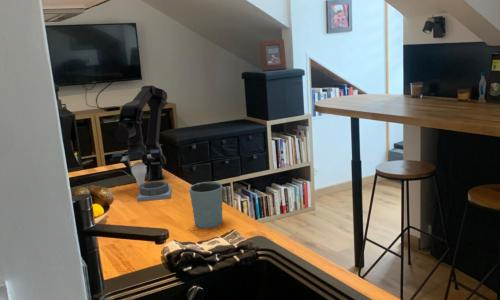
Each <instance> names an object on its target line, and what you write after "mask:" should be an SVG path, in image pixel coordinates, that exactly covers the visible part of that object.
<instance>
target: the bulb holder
mask: <svg viewBox="0 0 500 300" xmlns="http://www.w3.org/2000/svg"><path fill="white" fill-rule="evenodd" d="M138 189H139V191H138V194H137V195H136V196H137V198H136V201H137V203H141V202H147V201H148V202H150V201H157V200H169V199H171V196H172V190H173V189H172V185H171V184H170V185H169V182H168V181H165V180H153V181H148V182H144V184H142V185H140V187H139V188H138Z"/></svg>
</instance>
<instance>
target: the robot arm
mask: <svg viewBox="0 0 500 300" xmlns="http://www.w3.org/2000/svg"><path fill="white" fill-rule="evenodd" d="M167 100H168V93H167V92H166V91H165V90H164V89H163V88H159V87H156V86H155V85H143V86H141V88H140V91H139V92H138V93H137V95H136V96H135V97H134V98H133V100H132V101H129V102H127V103H125V104H123V105H122V106H121V109H120V112H119V117H118V122H117V124H118V128H116V129H115V131H114V137H115V139H116V140H117V141H118V142H119V143H126V142H127V152H124V150H118V151H114V152H113V153H112V154H111V160H112V162H119V163H121V164H123V165H124V166H125V168H126V169H127V171H128V173H129V176H130V177H133V174H132V172H131V168H132V165H131V161H132V160H141V161H142V163H144V164H145V165H146V167H147V172H146V175H147V176H148V179H147V180H148V182H153V181H164V179H165V174H164V173H163V166H165V165H166V164H167V157H166V156H165V154H164V153H163V148H162V147H161V144H160V131H161V117H162V112H163V111H162V110H164V108H165V107H166V105H167ZM146 105H148V107H149V117H148V125H147V126H148V128H147V139H146V140H147V141H146V142H145V143H144V138H143V137H144V136H143V131H142V124H143V120H142V118H143V114H144V108H145V106H146Z"/></svg>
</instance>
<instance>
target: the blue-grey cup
mask: <svg viewBox="0 0 500 300" xmlns="http://www.w3.org/2000/svg"><path fill="white" fill-rule="evenodd" d="M189 196H190V201H191V207H192V214H193V219H194V225H195V227H196V226H197V228H198V227H199V229H214V228H217V227H219V226H221V225H222V224H223V185H222V184H221V183H219V182H216V181H203V182H197V183H195V184H192V185H191V186H189Z"/></svg>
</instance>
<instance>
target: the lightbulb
mask: <svg viewBox="0 0 500 300" xmlns="http://www.w3.org/2000/svg"><path fill="white" fill-rule="evenodd" d="M131 172H132V176H133V177H134V178H135V181H136V184H137V188H138V189H139V187H140V185H142V184H144V183H146V182H145V179H146V178H145V177H146V175H147V166H146V165H145V164H144V163H142V162H141V161H137V162H134V163H133V164H132V165H131Z"/></svg>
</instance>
